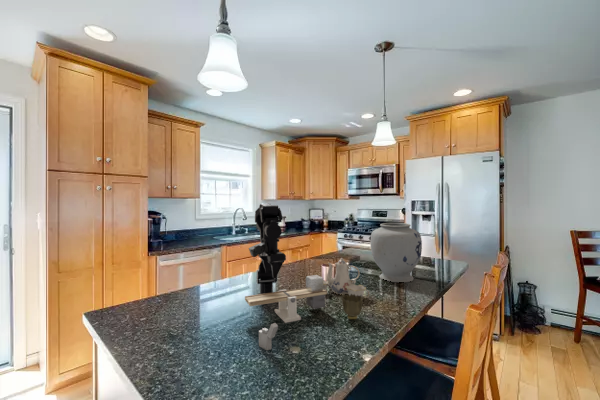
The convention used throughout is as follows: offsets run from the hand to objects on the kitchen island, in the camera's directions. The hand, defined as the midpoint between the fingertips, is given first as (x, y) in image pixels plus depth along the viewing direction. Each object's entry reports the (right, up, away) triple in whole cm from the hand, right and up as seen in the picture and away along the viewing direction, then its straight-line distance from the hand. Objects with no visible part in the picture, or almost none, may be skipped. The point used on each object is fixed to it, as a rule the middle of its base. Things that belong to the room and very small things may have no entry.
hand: (270, 275), depth 115 cm
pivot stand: (+7, -13, -8) cm, 17 cm away
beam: (+7, -11, -8) cm, 15 cm away
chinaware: (+30, -13, +17) cm, 37 cm away
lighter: (+3, -13, -32) cm, 35 cm away
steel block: (+17, -5, -3) cm, 18 cm away
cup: (+31, -13, -11) cm, 35 cm away
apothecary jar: (+64, -13, +42) cm, 78 cm away
